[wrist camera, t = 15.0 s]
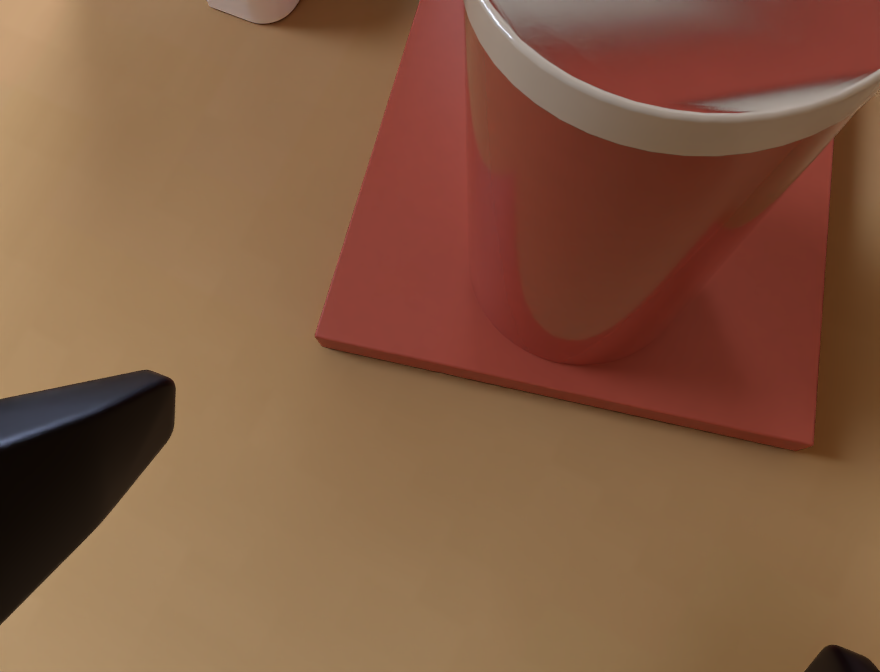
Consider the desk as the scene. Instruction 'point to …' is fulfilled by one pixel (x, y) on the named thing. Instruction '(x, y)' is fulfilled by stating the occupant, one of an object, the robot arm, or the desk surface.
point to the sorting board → (503, 363)
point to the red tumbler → (639, 150)
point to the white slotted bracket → (255, 9)
